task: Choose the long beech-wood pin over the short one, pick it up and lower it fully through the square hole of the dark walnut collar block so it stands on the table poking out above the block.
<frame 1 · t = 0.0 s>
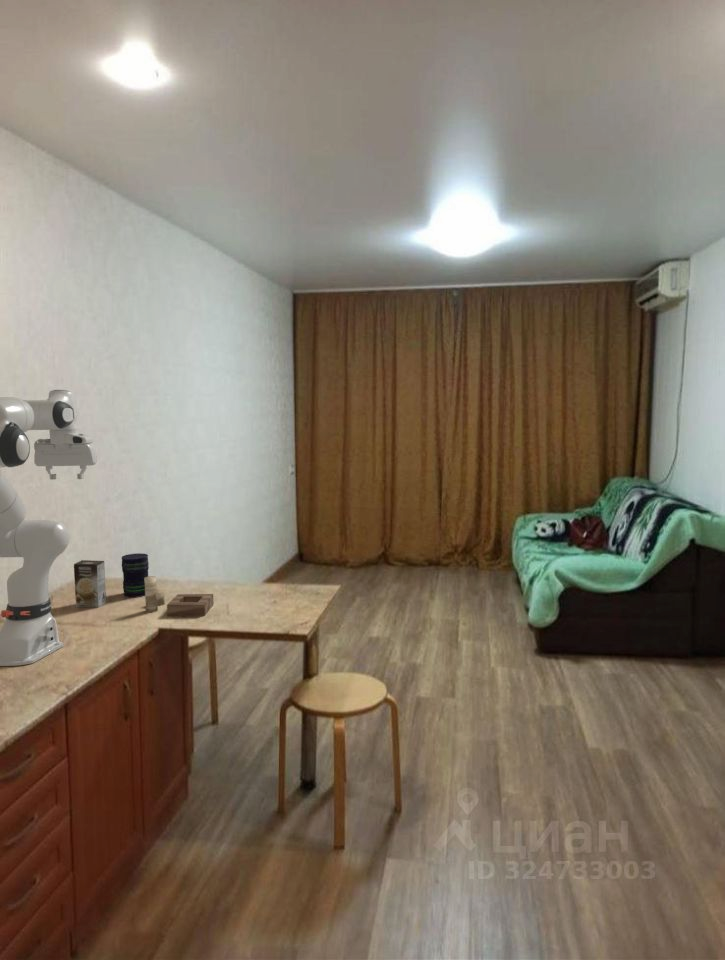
hand: (66, 479, 233), 48 cm above the countertop, fingers open, 8 cm apart
short pin: (158, 604, 251), on the countertop
long pin: (151, 610, 243), on the countertop
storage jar: (136, 594, 265), on the countertop
walnut collar: (191, 610, 243), on the countertop
coffee box: (91, 605, 252), on the countertop
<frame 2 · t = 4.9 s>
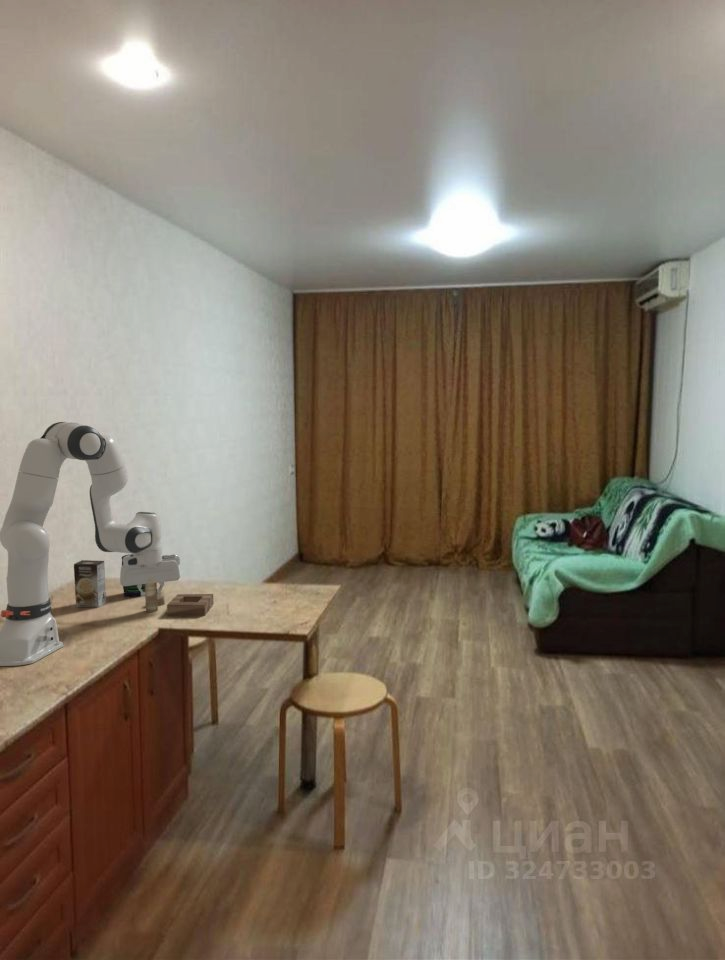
hand: (151, 595, 243), 6 cm above the countertop, fingers closed on long pin, 4 cm apart
long pin: (152, 610, 243), on the countertop, touching gripper
everything else where it was.
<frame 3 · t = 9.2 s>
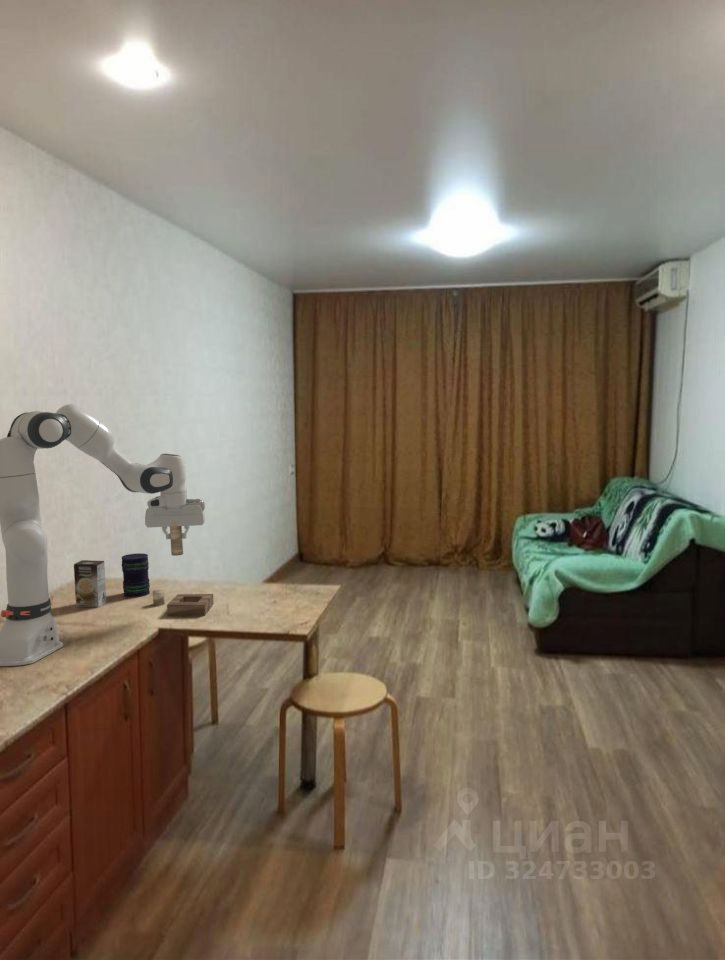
hand: (176, 538, 241), 26 cm above the countertop, fingers closed on long pin, 4 cm apart
long pin: (177, 554, 241), point 20 cm above the countertop, touching gripper
everything else where it was.
when the fingers open (7 cm above the countertop, at t = 13.6 s): long pin stays where it is, resting in walnut collar.
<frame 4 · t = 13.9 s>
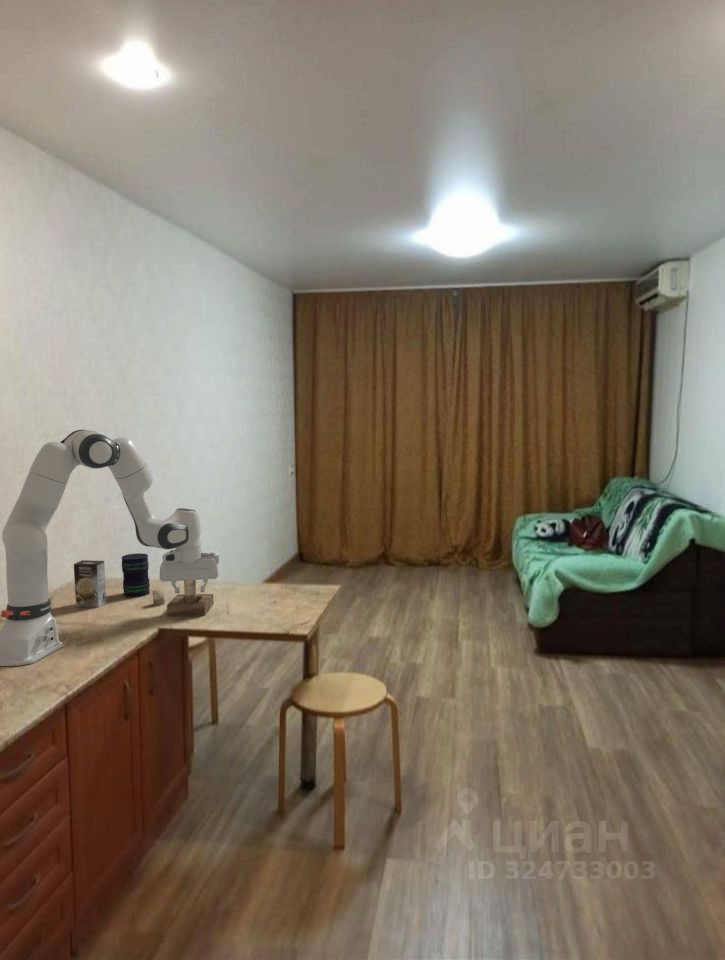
hand: (190, 592, 242), 7 cm above the countertop, fingers open, 7 cm apart
long pin: (191, 610, 243), resting in walnut collar
everything else where it was.
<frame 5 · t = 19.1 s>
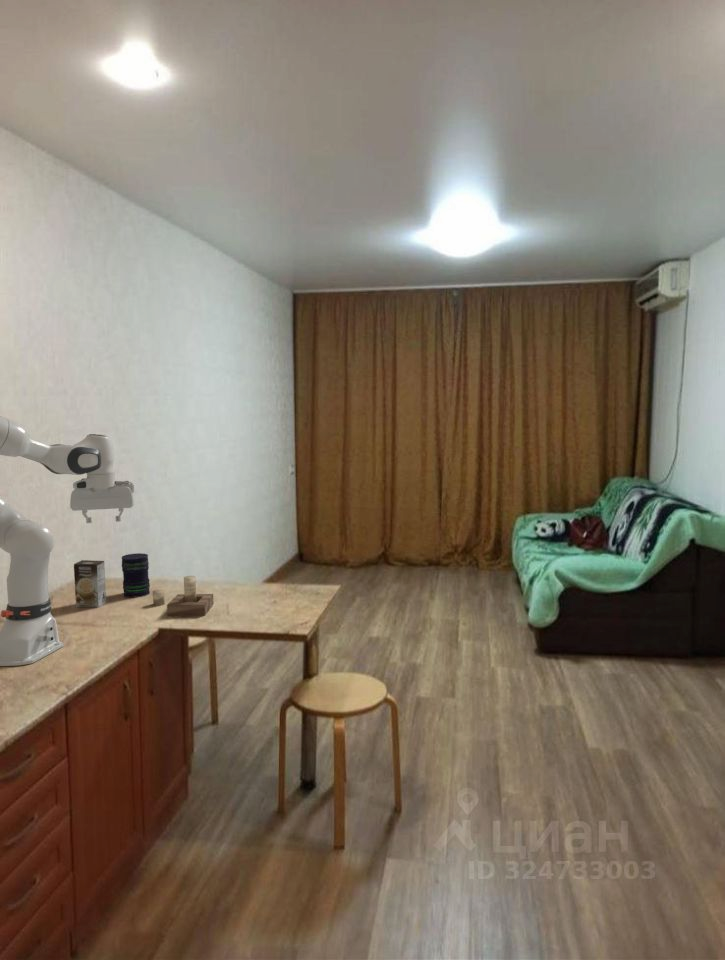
hand: (103, 522, 234), 33 cm above the countertop, fingers open, 8 cm apart
nothing on the countertop moved.
at the end: long pin 0.0 cm off-centre on the walnut collar, point 0.0 cm above the walnut collar's base; long pin tilted 0°; short pin moved 0.1 cm from its start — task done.
